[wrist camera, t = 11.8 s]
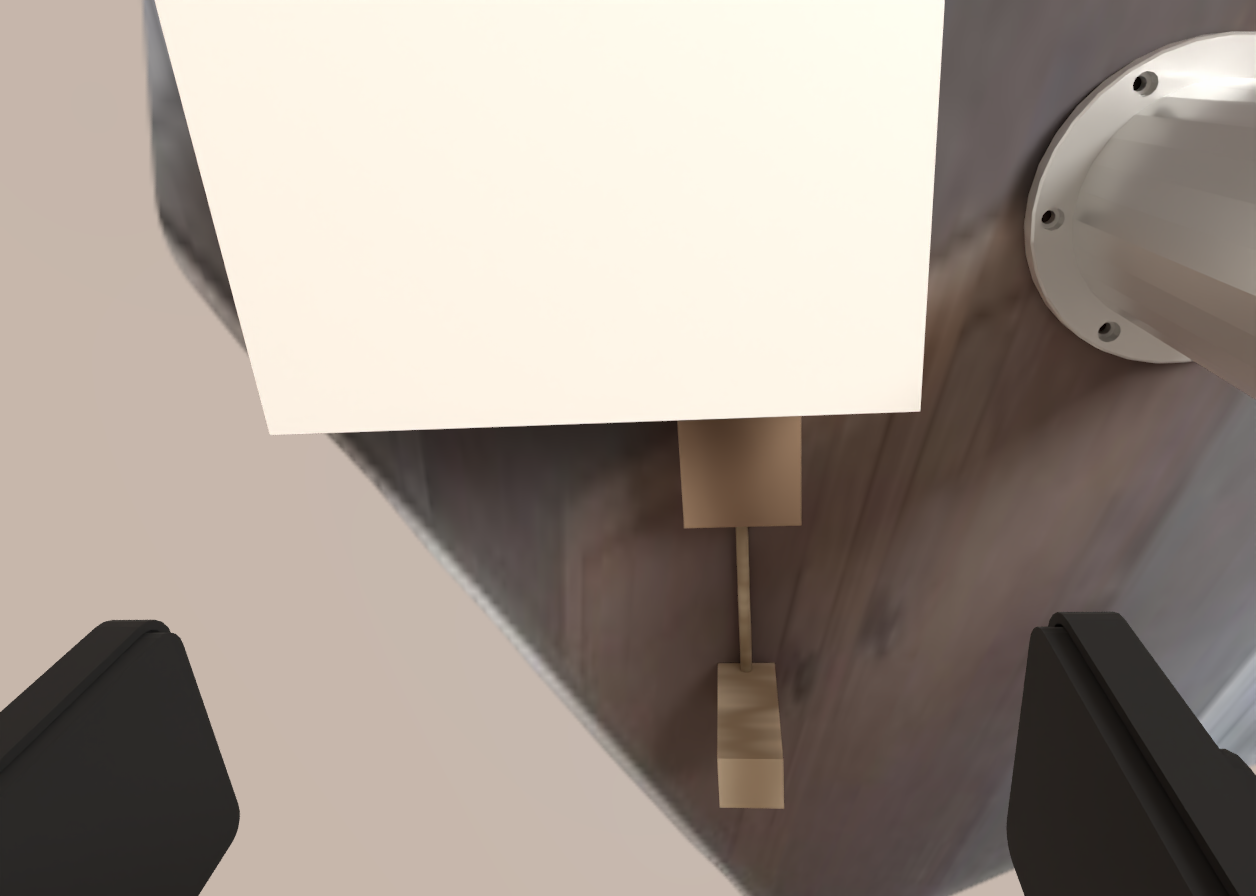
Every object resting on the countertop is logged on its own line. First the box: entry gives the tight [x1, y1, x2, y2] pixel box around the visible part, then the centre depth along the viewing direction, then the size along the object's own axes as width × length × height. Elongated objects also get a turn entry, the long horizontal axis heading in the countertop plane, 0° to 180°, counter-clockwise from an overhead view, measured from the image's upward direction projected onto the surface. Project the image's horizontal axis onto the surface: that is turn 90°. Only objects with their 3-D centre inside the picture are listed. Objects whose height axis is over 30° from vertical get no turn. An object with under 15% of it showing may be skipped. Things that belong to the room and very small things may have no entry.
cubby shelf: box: [155, 0, 945, 435], centre depth 29 cm, size 20×16×14 cm
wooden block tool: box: [677, 416, 801, 809], centre depth 40 cm, size 5×19×7 cm, turn 4°
